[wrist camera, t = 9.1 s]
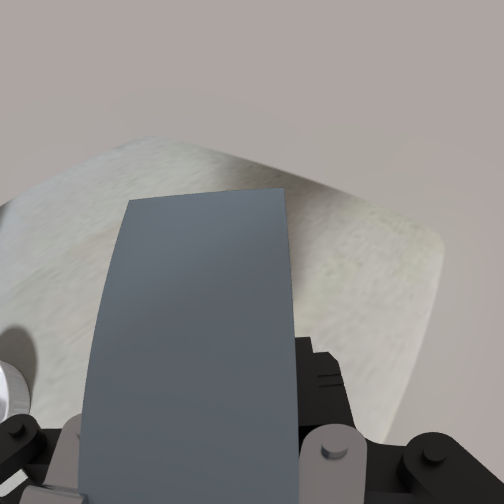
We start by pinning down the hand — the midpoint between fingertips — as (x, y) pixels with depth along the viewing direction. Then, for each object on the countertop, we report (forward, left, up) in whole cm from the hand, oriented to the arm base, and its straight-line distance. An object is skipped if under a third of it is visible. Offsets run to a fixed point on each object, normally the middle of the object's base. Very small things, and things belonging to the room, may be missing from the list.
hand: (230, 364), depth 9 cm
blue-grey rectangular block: (+2, -1, -6) cm, 6 cm away
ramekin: (-15, -25, -18) cm, 34 cm away
